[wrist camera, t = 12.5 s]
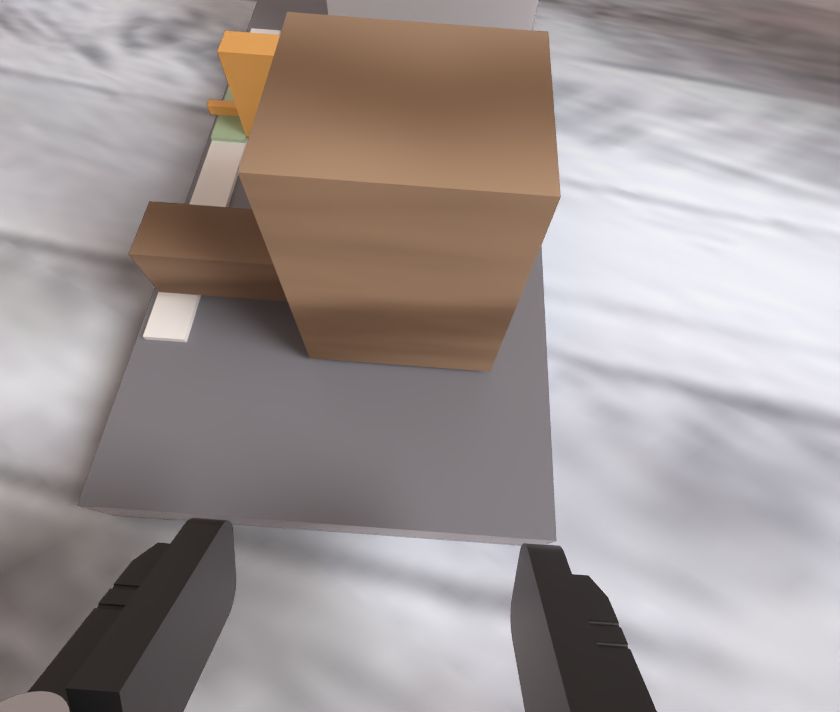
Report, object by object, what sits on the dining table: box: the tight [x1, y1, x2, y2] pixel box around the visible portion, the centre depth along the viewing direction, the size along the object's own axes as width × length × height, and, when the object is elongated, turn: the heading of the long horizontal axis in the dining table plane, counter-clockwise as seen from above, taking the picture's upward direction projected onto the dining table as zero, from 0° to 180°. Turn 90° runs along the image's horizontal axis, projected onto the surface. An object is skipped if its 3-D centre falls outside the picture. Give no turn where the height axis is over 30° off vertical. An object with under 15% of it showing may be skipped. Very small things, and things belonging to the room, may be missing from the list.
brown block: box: [129, 12, 561, 372], centre depth 14 cm, size 5×11×8 cm, turn 86°
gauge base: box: [77, 0, 556, 546], centre depth 16 cm, size 26×14×12 cm, turn 176°
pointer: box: [207, 31, 280, 137], centre depth 19 cm, size 1×4×4 cm, turn 86°
